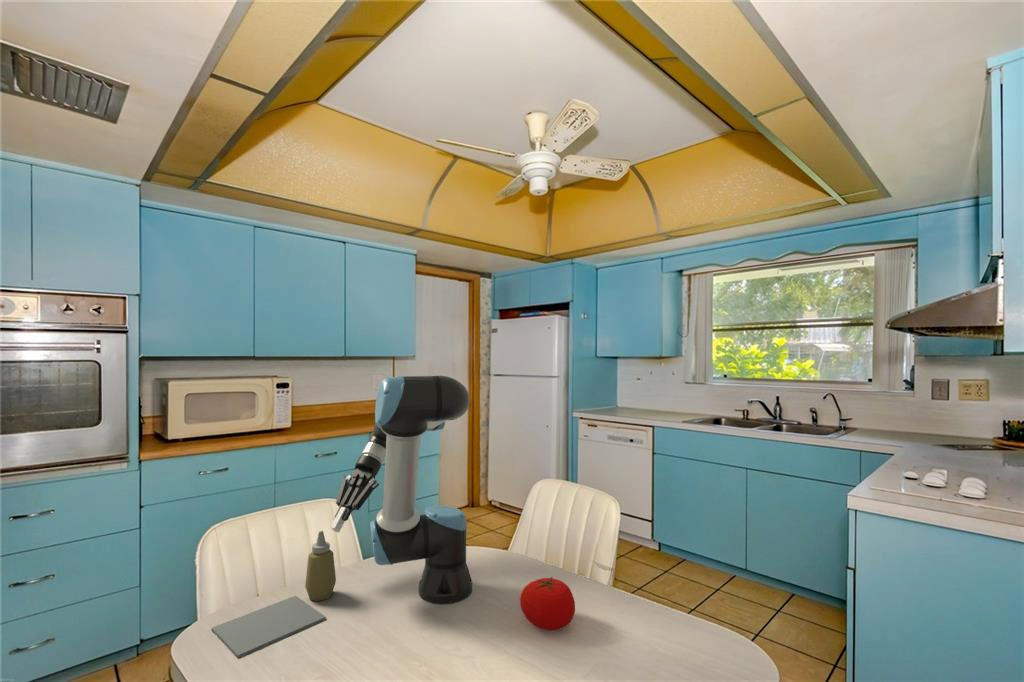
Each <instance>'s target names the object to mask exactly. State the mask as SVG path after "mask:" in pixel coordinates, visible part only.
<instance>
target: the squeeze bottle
mask: <svg viewBox="0 0 1024 682" xmlns="http://www.w3.org/2000/svg"><path fill="white" fill-rule="evenodd" d="M330 544H331V543H330V542H329V541H326V538H325V533H324V530H319V531H318V533H317V538H316V542H315V543H314V544H312V545H311V552H310V553H309V554H308V558H307V567H306V575H305V576H306V577H305V584H304V586H305V589H306V592H307V595H308V598H309V599H310V601H313V602H314V601H315V602H319V601H324V600H327V599H329V598H330V597H331V596H333V592H334V590H335V589H334V588H335V585H336V583H337V582H336V581H337V577H336V567H335V566H336V565H335V558H334V556H335V555H334V552H333V550H331V545H330Z"/></svg>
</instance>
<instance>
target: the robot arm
mask: <svg viewBox="0 0 1024 682" xmlns="http://www.w3.org/2000/svg"><path fill="white" fill-rule="evenodd" d="M379 383H380V384H379V386H378V390H377V394H376V397H375V398H376V399H375V408H374V417H375V418H374V419H375V422H374V426H373V431H372V433H371V435H370V437H369V438H368V441H367V442H366V444H365V446H364V447H363V450H362V452H361V453H360V455H359V457H358V458H357V461H356V463H355V464H354V465H355V466H354V469H353V470H352V472H351V473H350V474H349V475H347V476H346V475H342V477H341V484H340V489H339V491H338V493H337V498H336V500H335V504H336V505H337V506H338V509H337V511H336V513H335V514H334V521H333V522H332V524H331V526H330V529H331V530H333V532H335V533H340V532H341V530H342V528H343V526H344V524H345V522H347V521H348V520H349V518H350V516H351V514H352V512H354V511H359V510H360V509H361V508H362V506H363V505H364V503H365V502H366V501H367V500H368V498H369V497H370V495H371V494H372V493H373V491H374V490H375V489H377V488H378V487H379V485H380V483H379V482H378V481H377V480H376V476H377V475H378V474H379V472H380V469H381V468H382V465H383V463H384V477H383V478H384V479H383V497H382V498H383V499H382V508H381V509H380V510H379V511H378V513H377V515H376V517H375V518H376V519H374V520H371V521H370V523H369V526H370V527H369V528H370V536H371V545H372V552H373V559H374V562H375V563H376V564H377V565H379V566H385V565H386V566H388V565H395V564H400V563H401V564H402V563H405V562H406V563H407V562H413V561H420V560H424V568H423V571H422V575H421V579H420V581H419V584H418V594H419V597H420V599H422V600H424V601H425V602H427V603H431V604H437V605H448V604H453V603H457V602H460V601H463V600H465V599H467V598H468V597H469V596H470V595H471V594H472V592H473V580H472V577H471V574H470V570H469V567H468V564H467V530H468V526H467V519H466V518H467V516H466V513H464V512H463V510H461V509H459V508H456V507H453V506H449V505H431V506H428V507H427V508H425V510H424V514H420V512H419V510H418V509H417V508H416V504H417V503H416V501H417V491H418V490H417V488H418V487H417V486H418V475H419V462H420V448H421V436H422V435H424V434H425V433H426V432H430V431H432V432H435V431H441V430H443V429H444V428H445V425H446V422H447V421H455V420H457V419H459V418H461V417H462V416H464V415H465V414H466V413H467V411H468V410H469V407H470V402H471V399H470V394H469V392H468V389H467V387H466V386H464V385H463V383H461V382H460V381H459V380H457V379H455V378H453V377H450V376H448V375H447V376H446V375H445V376H444V375H416V376H415V375H414V376H410V375H409V376H408V375H407V376H403V375H398V376H390V377H389V376H388V377H385V378H384V379H382V380H381V382H379Z"/></svg>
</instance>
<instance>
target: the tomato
mask: <svg viewBox="0 0 1024 682" xmlns="http://www.w3.org/2000/svg"><path fill="white" fill-rule="evenodd" d="M519 602H520V603H519V604H520V609H521V612H522V613H523V615H524V617H525V618H526V620H527V621H528V622H530V624H532V625H533V626H535V627H536V628H538V629H542V630H544V631H557V630H558V631H559V630H562V629H564V628H565V627H567V626H568V625H569V624H570V623H571V622H572V620H573V618H574V616H575V613H576V602H575V598H574V595H573V593H572V591H571V588H570V587H569V586H568V585H567V584H566V583H565V582H564V581H562V580H559V579H556V578H553V576H551V577H544V578H539V579H538V578H535V579H534V580H533V581H530V582H529V583H528V584H527V585H525V586H524V588H523V589H522V591H521V594H520V597H519Z"/></svg>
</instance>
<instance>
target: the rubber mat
mask: <svg viewBox="0 0 1024 682" xmlns="http://www.w3.org/2000/svg"><path fill="white" fill-rule="evenodd" d="M324 619H325V620H327V616H325V615H324V614H322V612H319V611H318V610H317V609H315V608H314V607H313V606H311V605H309V604H308V603H307V602H305V601H304V600H303V599H301V598H300V597H298V596H297V595H294V596H290V597H288V598H285V599H283V600H280V601H278V602H275V603H272V604H270V605H268V606H265V607H262V608H260V609H258V610H254V611H252V612H249V613H247V614H244V615H241V616H239V617H236V618H233V619H231V620H228V621H227V622H226V621H225V622H223V623H221V624H218V625H216V626H212V627H211V631H212V633H213V634H214V635H215V634H216V635H217V636H216V635H215V636H216V637H217V638H218V639H219V640H220V641H221V642H222V643H223V644H224V645H225V646H226V647H227V649H229V650H230V652H231V653H232V654H233V655H234V656H235V657H236V658H237V659H238V658H242V657H244V656H245V655H248V654H249V653H252V652H255V651H257V650H259V649H261V648H264V647H266V646H268V645H271V644H273V643H275V642H277V640H278V641H280V640H282V639H284V638H286V637H288V635H289V636H290V635H293V634H295V633H298V632H299V631H302V630H305V629H307V628H310V627H312V626H314V625H316V624H317V622H318V623H320V621H321V622H323V621H325V620H324ZM279 639H280V640H279Z"/></svg>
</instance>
